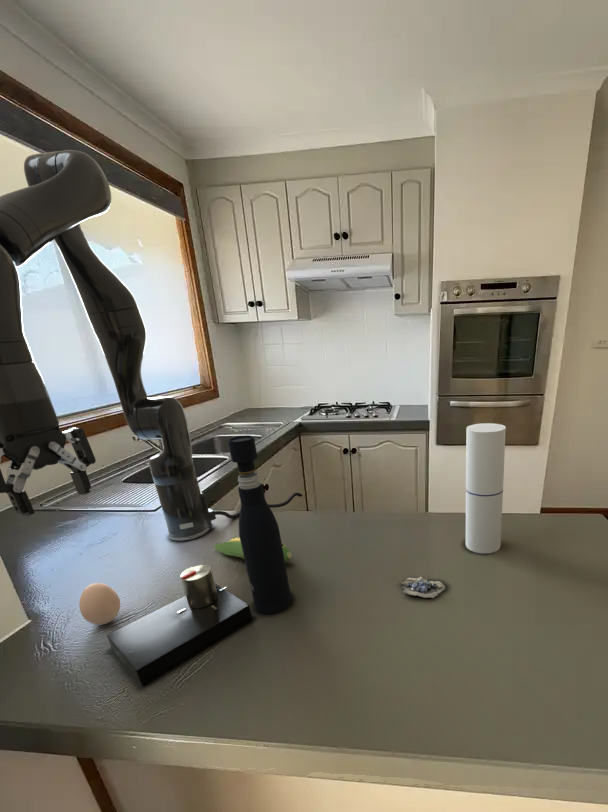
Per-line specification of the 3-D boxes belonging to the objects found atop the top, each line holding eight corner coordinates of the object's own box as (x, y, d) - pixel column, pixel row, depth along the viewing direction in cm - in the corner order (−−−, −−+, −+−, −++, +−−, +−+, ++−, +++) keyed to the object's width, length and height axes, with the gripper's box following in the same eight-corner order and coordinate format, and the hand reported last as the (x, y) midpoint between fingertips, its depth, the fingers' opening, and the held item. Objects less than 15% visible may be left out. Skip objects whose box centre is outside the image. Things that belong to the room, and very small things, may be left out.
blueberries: (398, 580, 79) (397, 571, 78) (440, 575, 79) (440, 567, 78) (404, 602, 72) (403, 592, 72) (449, 596, 73) (449, 587, 72)
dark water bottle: (298, 594, 77) (270, 433, 65) (279, 616, 71) (245, 444, 60) (267, 590, 79) (235, 433, 68) (247, 611, 73) (209, 443, 62)
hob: (217, 593, 79) (213, 578, 78) (255, 618, 71) (251, 602, 70) (111, 648, 67) (105, 633, 66) (142, 687, 59) (135, 669, 58)
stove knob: (209, 588, 76) (201, 560, 73) (223, 597, 72) (215, 568, 70) (183, 601, 72) (174, 572, 70) (196, 612, 69) (188, 582, 67)
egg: (92, 616, 75) (77, 580, 72) (127, 607, 77) (114, 572, 74) (83, 636, 70) (67, 598, 67) (122, 626, 72) (108, 589, 69)
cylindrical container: (462, 551, 87) (462, 431, 77) (468, 535, 93) (470, 422, 83) (498, 555, 84) (503, 432, 75) (502, 539, 90) (507, 423, 81)
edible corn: (283, 573, 84) (279, 553, 83) (210, 556, 93) (205, 538, 91) (298, 560, 88) (295, 541, 87) (227, 545, 97) (223, 528, 95)
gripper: (-29, 407, 52) (23, 526, 58) (82, 389, 64) (115, 488, 70) (-62, 407, 55) (-9, 520, 61) (51, 390, 67) (85, 485, 73)
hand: (58, 503), depth 66 cm, fingers open, 8 cm apart
